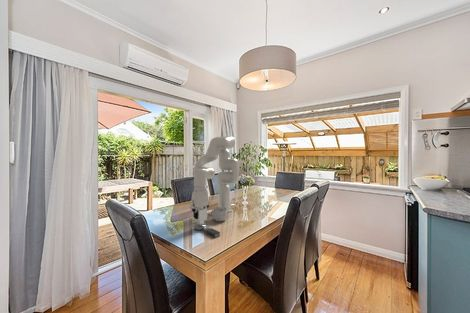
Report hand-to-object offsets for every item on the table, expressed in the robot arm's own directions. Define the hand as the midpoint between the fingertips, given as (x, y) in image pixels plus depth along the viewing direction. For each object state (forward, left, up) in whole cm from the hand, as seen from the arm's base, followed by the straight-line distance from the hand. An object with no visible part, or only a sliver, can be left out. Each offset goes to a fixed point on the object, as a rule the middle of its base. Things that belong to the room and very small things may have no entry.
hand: (200, 217), depth 127 cm
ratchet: (0, +6, -7) cm, 10 cm away
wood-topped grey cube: (0, 0, -2) cm, 2 cm away
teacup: (-20, -5, -8) cm, 22 cm away
